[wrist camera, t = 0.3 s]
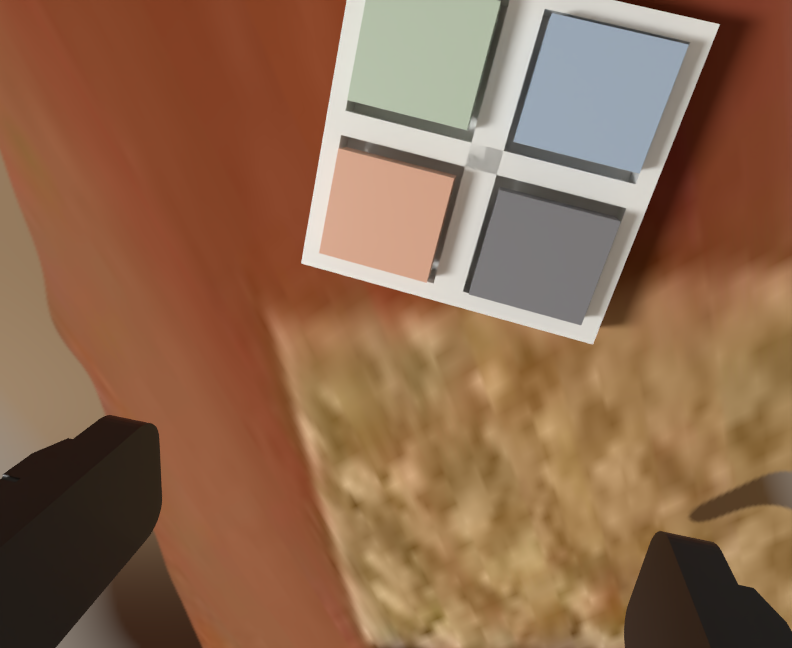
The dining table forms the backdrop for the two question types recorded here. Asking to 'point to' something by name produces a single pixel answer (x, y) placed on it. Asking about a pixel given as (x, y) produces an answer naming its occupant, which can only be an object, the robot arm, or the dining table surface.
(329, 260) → the white flat square tray
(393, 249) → the key terracotta
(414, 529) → the dining table surface
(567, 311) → the key charcoal
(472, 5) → the key sage
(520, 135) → the key slate
